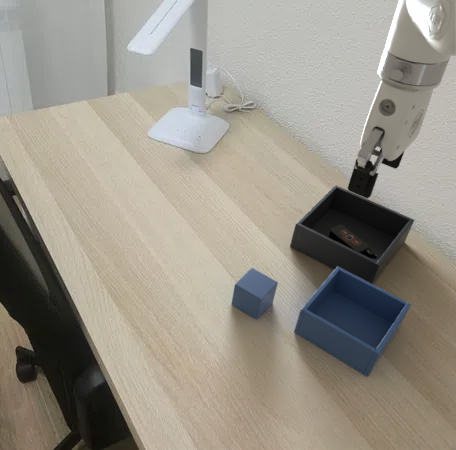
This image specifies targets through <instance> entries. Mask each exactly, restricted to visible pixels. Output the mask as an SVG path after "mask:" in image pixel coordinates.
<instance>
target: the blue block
mask: <svg viewBox="0 0 456 450" xmlns="http://www.w3.org/2000/svg"><path fill="white" fill-rule="evenodd" d="M278 284H279V282H278V281H277V280H275V279H273V278H271V277H269V276H268V275H266V274H264V273H262V272H261V271H259V270H257V269H255V268H254V267H251V268H250V269H248V271H247V272H245V274H243V276H242V277H240V278H239V280H237V281H236V283H234V288H233V293H232V299H231V305H232V306H233V307H235V308H236V309H238V310H239V311H241V312H243V313H245V314H247V315H248V316H249V317H252V318H253V319H254V320H256V321H257V320H259V318H261V316H262V315H263V314H264V313H265V312H266V311H267V310H268V308H270V306H271V305H272V304H273V303H274V300H275V295H276V291H277V288H278Z"/></svg>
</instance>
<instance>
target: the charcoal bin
mask: <svg viewBox="0 0 456 450" xmlns="http://www.w3.org/2000/svg"><path fill="white" fill-rule="evenodd" d="M414 222H415V219H413V218H411V217H409V216H408V215H404V214H402V213H400V212H398V211H395V210H393V209H391V208H389V207H386V206H384V205H382V204H379V203H377V202H375V201H373V200H370V199H369V198H365V197H362V196H360V195H358V194H356V193H353V192H351V191H349V190H348V189H346V188H344V187H341V186H338V185H336V184H335V185H334V186H332V188H331V189H330V190H328V191H327V192H326V194H324V195H323V196H322V197H321V199H319V200H318V201H317V202H316V203H315V205H313V206H312V207H311V208H310V209H309V210H308V212H307V213H305V214H304V215H303V216H302V217H301V218H300V219H299V220H298V221H297V222H296V223H295V225H294V230H293V233H292V237H291V240H290V244H289V247H290V248H292V249H294V250H296V251H298V252H300V253H302V254H304V255H306V256H308V257H309V258H312V259H313V260H316V261H317V262H319V263H321V264H323V265H325V266H326V267H328V268H330V269H332V270H333V271H334V270H335V269H336V268H337V266H338V267H340V268H342V269H344V270H346V271H348V272H350V273H352V274H354V275H356V276H358V277H360V278H362V279H363V280H365V281H367V282H369V283H371V284H373V285H375V282H376V281H377V280H378V279H379V277H380V276H381V275H382V273H383V271H384V270H385V269H386V268H387V266H388V265H389V264H390V263H391V261H392V260H393V259H394V257H395V256H396V254H397V253H398V252H399V250H400V249H401V248H402V247H403V245H404V244H405V242H406V240H407V238H408V236H409V233H410V232H411V230H412V226H413V225H414ZM338 225H343V226H344V227H346V228H347V229H348V230H350V231H351V232H352V233H353V234H355V235H356V236H357V237H359V238H360V239H361V240H362V241H364V242H365V243H366V244H367V245H368V246H369V247H368V248H369V249H371V250H372V252H373V253H374V254H376V255H377V258H376V259H373V258H372V259H371V258H369V257H367V256H366V255H363V254H360V253H358V252H356V251H354V250H352V249H350V248H348V247H346V246H344V245H342V244H340V243H338V242H336V241H334V240H332V239H330V238H328V236H329V233H330V230H331V228H333V227H336V226H338Z"/></svg>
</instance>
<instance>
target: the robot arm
mask: <svg viewBox="0 0 456 450" xmlns="http://www.w3.org/2000/svg"><path fill="white" fill-rule="evenodd" d="M387 35H388V36H387V39H386V43H385V45H384V49H383V52H382V55H381V58H380V62H379V65H378V68H377V75H378V76H379V78H381V81H380V83H379V85H378V88H377V91H376V93H375V96H374V99H373V101H372V104H371V106H370V109H369V112H368V114H367V118H366V121H365V124H364V126H363V130H362V133H361V137H360V142H359V148H360V149H359V150H358V153H357V158H356V159H355V161H354V165H353V169H352V173H351V176H350V179H349V182H348V186H347V190H348V191H350V192H352V193H355V194H357V195H359V196H361V197H364V198H366V199H369V198H370V197H371V196H372V193H373V191H374V188H375V185H376V183H377V179H378V177H379V172H378V170H379V168H380V166H381V164H382V165H384V166H387V167H390V168H392V169H395V170H396V169H398V168H399V167H400V164H401V162H402V160H403V156H404V154H405V151H406V150H407V149H408V148H409V147H410V146H411V144H412V143H414V142H415V140H416V139H417V138H418V137H419V134H420V132H421V128H422V126H423V123H424V121H425V117H426V114H427V111H428V108H429V105H430V102H431V98H432V95H433V92H434V89H436V88H438V87H439V86H441V85H440V84H441V82H442V80H443V77H444V75H445V73H446V70H447V67H448V64H449V61H450V59H451V56H452V57H453V56H454V57H456V0H398V3H397V6H396V8H395V11H394V15H393V19H392V22H391V26H390V29H389V32H388V34H387ZM377 147H378V148H380V149H379V150H377ZM372 156H373V157H376V159H375V161H374V163H373V161H372V160H371V159H372V158H371V157H372Z"/></svg>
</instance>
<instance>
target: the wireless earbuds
mask: <svg viewBox="0 0 456 450" xmlns="http://www.w3.org/2000/svg"><path fill="white" fill-rule="evenodd" d="M328 238H330V239H332V240H334V241H336V242H338V243H340V244H342V245H344V246H346V247H348V248H350V249H352V250H354V251H356V252H358V253H360V254H363V255H366V256H367V257H369V258H371V259H372V258H373V259H376V258H377V255H376V254H374V253H373V252H372V250H371V249H369V248H368V247H369V246H368V245H367V244H366V243H365V242H364V241H362V240H361V239H360V238H359V237H357V236H356V235H355V234H353V233H352V232H351V231H350V230H348V229H347V228H346V227H344V226H343V225H338V226H336V227H333V228H331V230H330V233H329V236H328Z"/></svg>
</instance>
